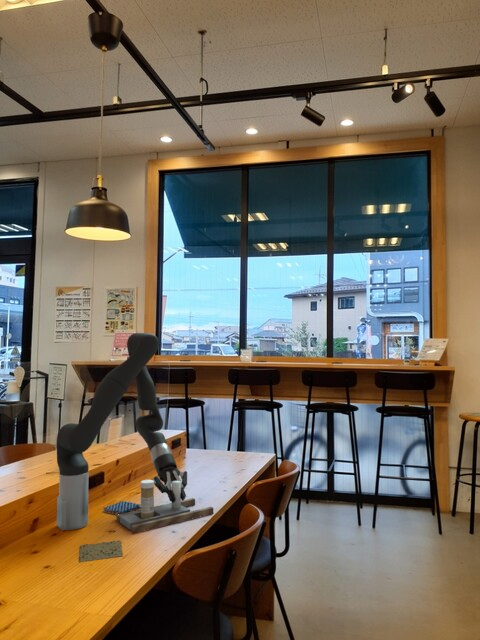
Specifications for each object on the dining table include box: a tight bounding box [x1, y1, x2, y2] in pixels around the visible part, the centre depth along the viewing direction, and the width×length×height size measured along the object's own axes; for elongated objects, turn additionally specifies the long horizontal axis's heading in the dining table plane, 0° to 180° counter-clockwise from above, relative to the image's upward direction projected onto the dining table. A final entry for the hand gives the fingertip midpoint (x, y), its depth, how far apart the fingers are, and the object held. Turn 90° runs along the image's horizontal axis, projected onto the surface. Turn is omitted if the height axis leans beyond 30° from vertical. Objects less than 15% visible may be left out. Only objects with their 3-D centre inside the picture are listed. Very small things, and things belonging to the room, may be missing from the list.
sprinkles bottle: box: [139, 479, 155, 520], centre depth 160 cm, size 5×5×13 cm
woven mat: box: [102, 500, 141, 516], centre depth 172 cm, size 10×11×2 cm
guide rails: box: [116, 498, 214, 534], centre depth 164 cm, size 30×14×2 cm, turn 126°
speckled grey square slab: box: [78, 540, 124, 563], centre depth 136 cm, size 12×12×1 cm
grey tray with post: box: [119, 480, 191, 531], centre depth 162 cm, size 22×9×11 cm, turn 126°
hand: (178, 500), depth 165 cm, fingers closed on grey tray with post, 3 cm apart
